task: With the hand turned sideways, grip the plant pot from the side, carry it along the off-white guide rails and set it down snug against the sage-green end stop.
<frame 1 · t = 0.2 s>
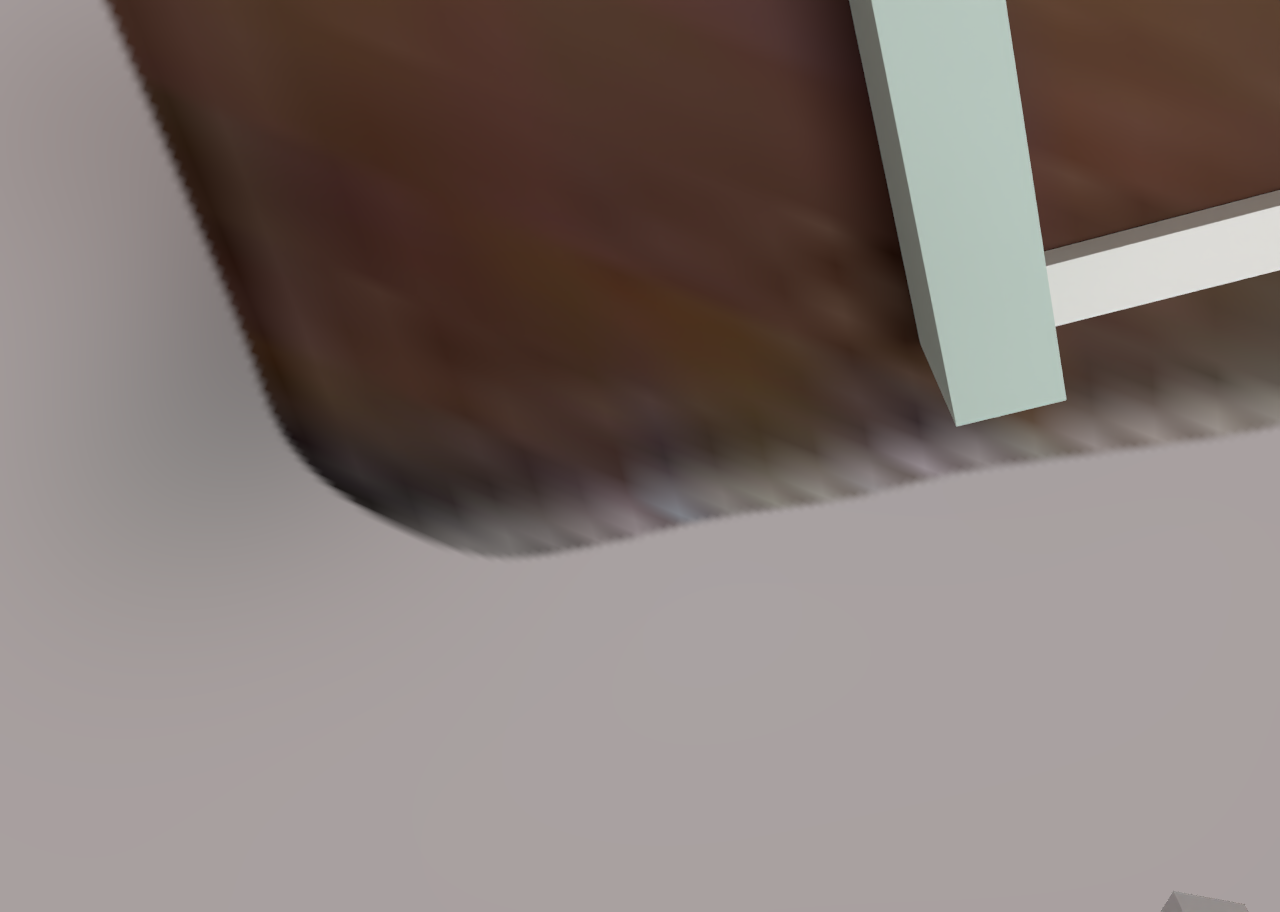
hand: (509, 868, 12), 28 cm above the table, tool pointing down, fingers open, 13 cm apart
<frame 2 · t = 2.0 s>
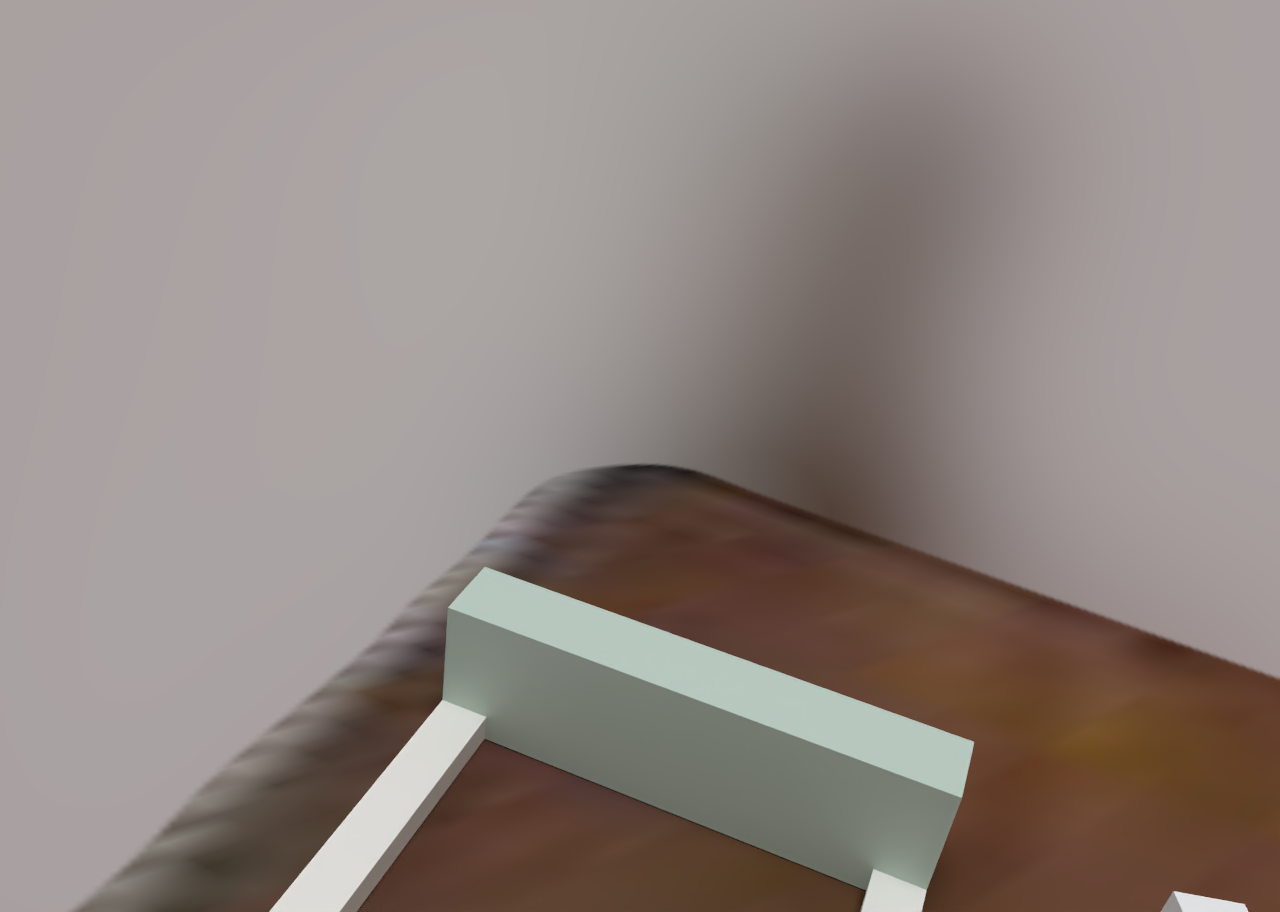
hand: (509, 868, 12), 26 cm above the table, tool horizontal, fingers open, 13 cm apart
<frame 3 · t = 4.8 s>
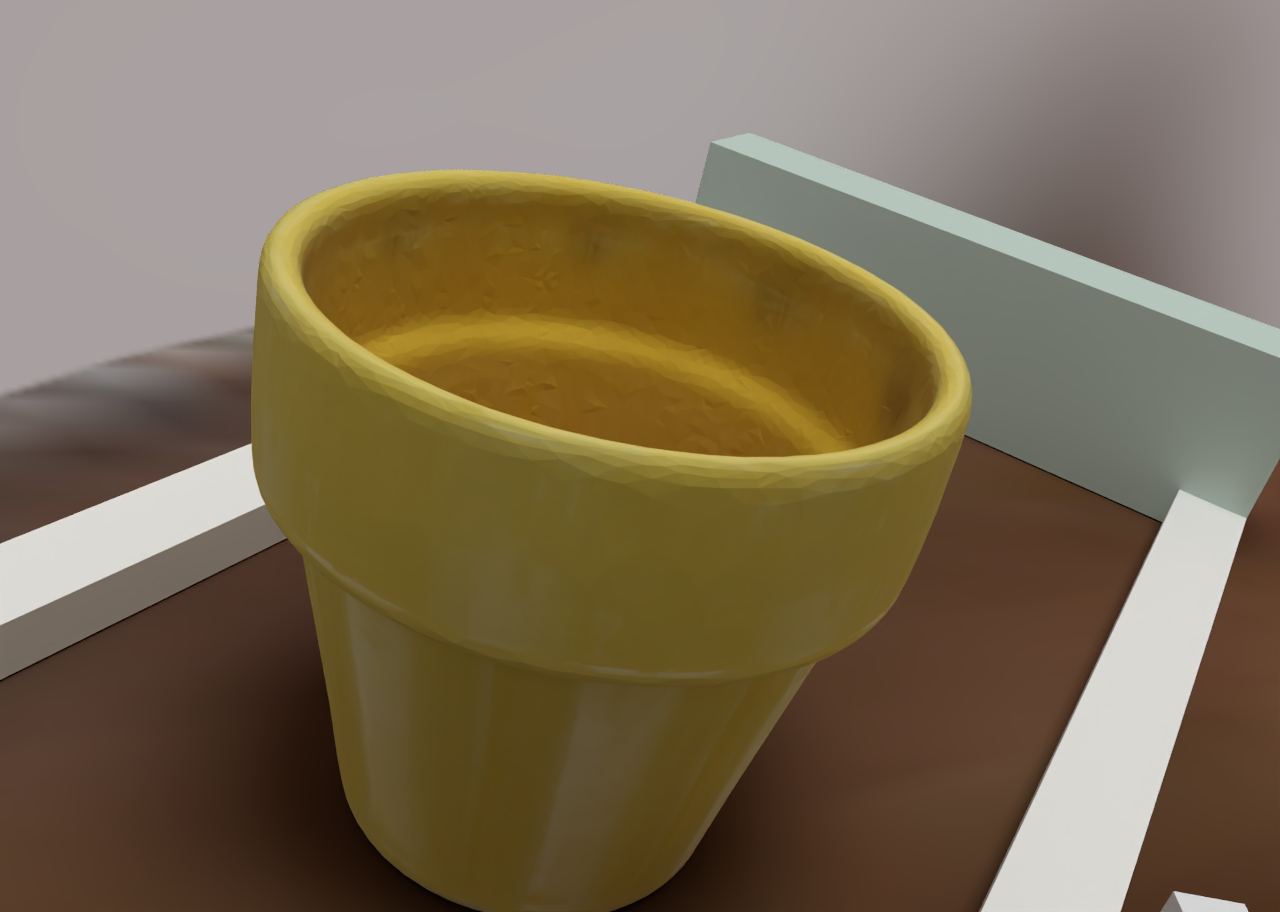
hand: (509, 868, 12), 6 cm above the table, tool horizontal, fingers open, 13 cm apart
guide track: (741, 577, 29), on the table
plant pot: (518, 781, 22), on the table
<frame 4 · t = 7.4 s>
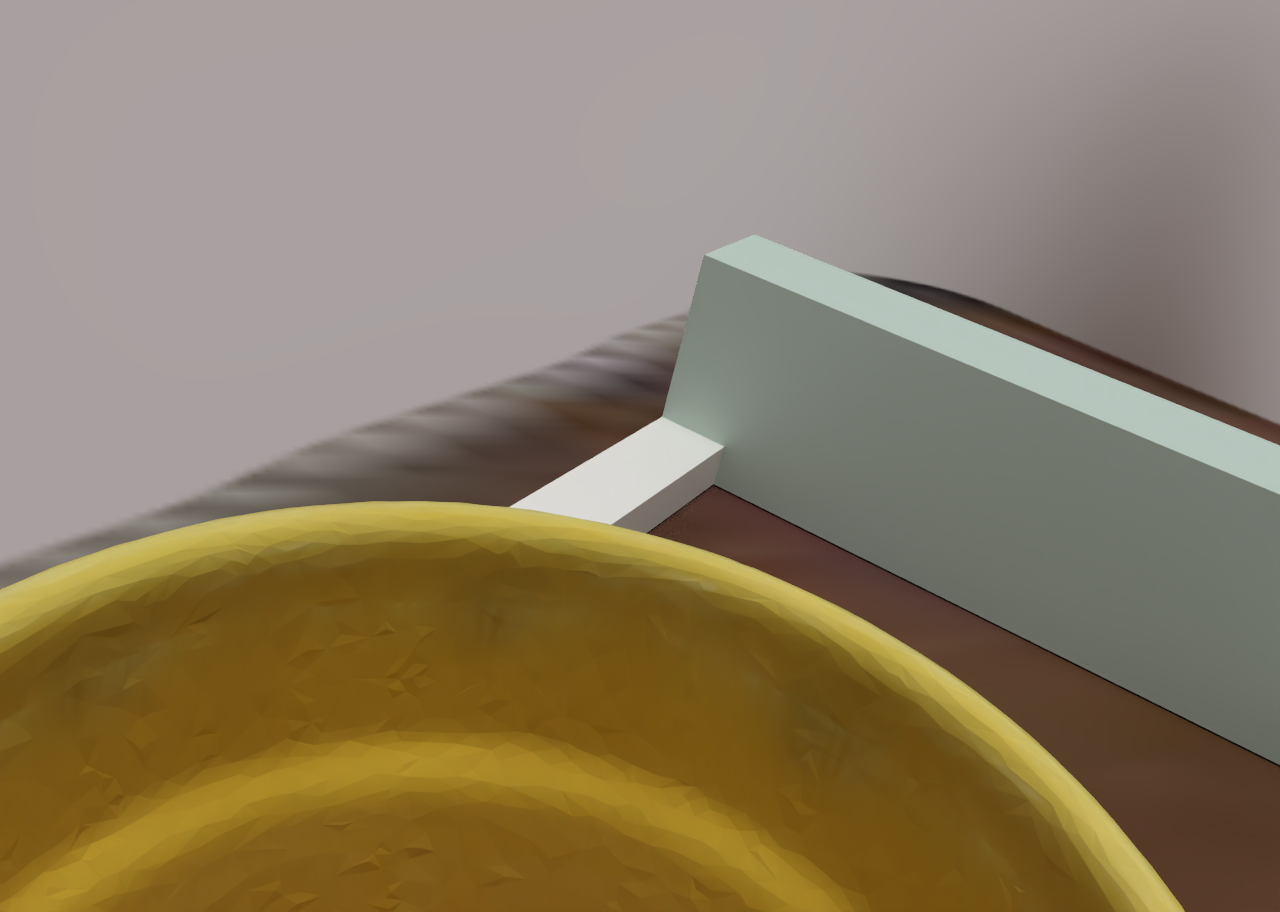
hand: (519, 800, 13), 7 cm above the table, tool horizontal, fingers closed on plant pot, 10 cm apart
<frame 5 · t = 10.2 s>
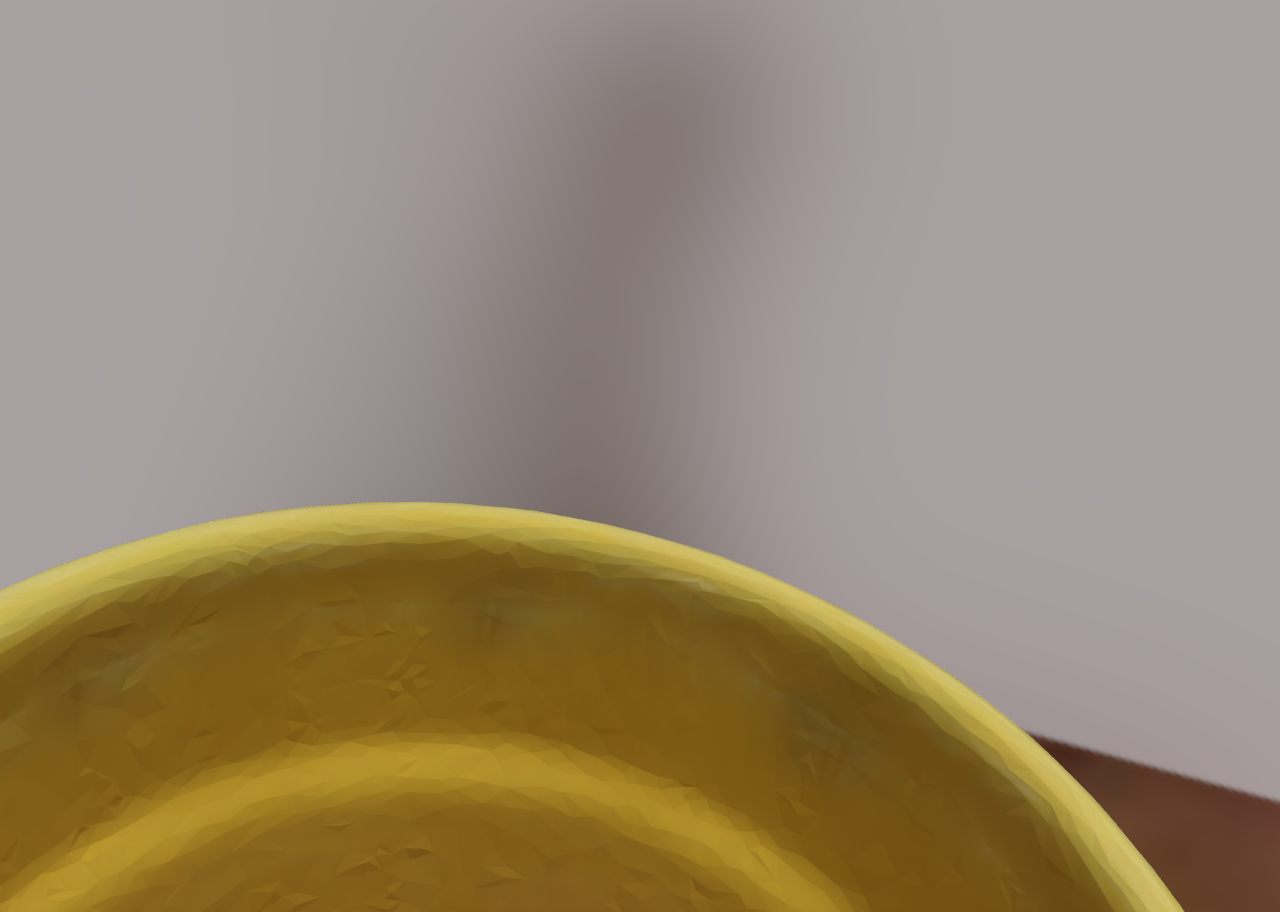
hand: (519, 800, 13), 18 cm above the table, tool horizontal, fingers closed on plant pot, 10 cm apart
when the fingers open (8 cm above the table, at t = 13.4 s): plant pot drops 1 cm, on the table.
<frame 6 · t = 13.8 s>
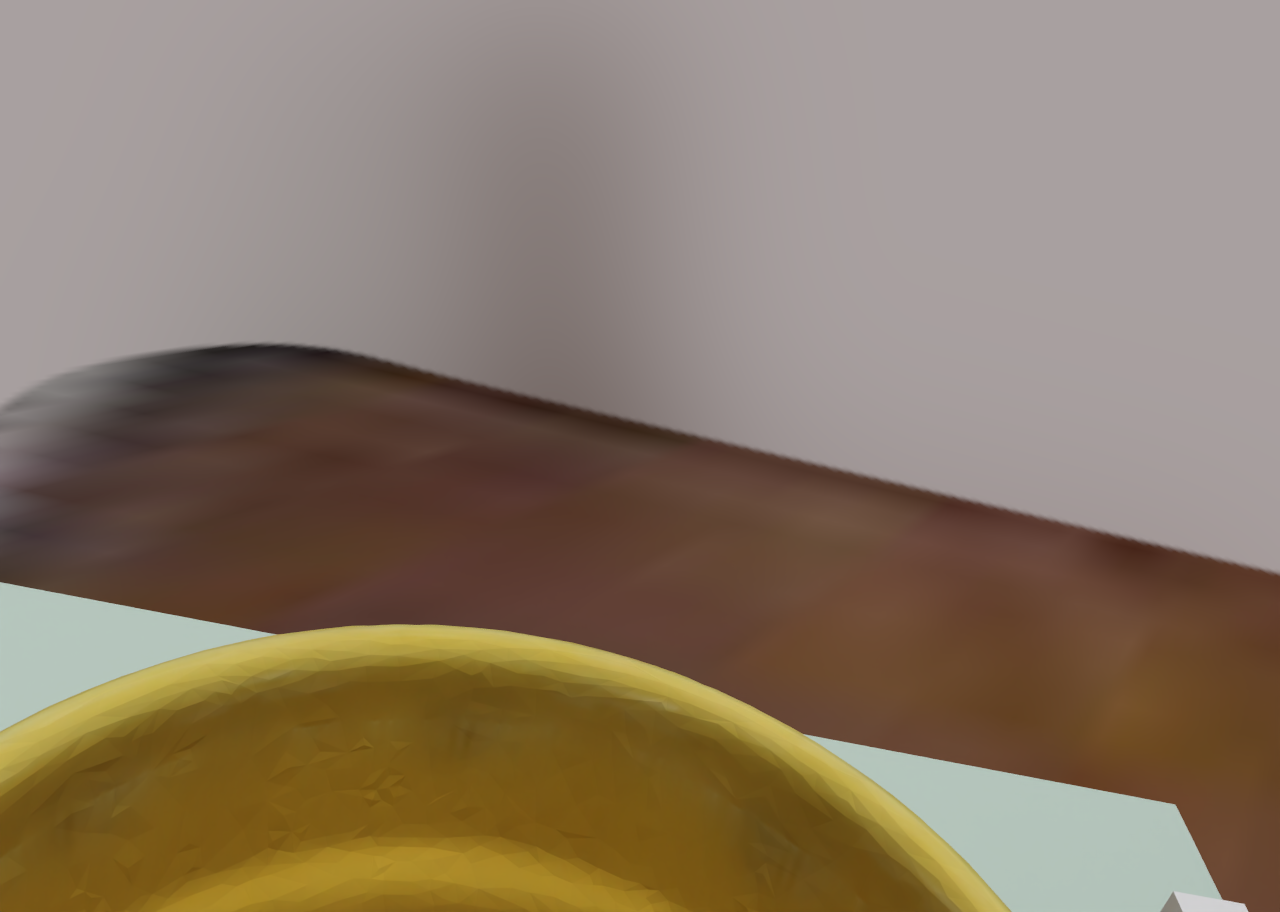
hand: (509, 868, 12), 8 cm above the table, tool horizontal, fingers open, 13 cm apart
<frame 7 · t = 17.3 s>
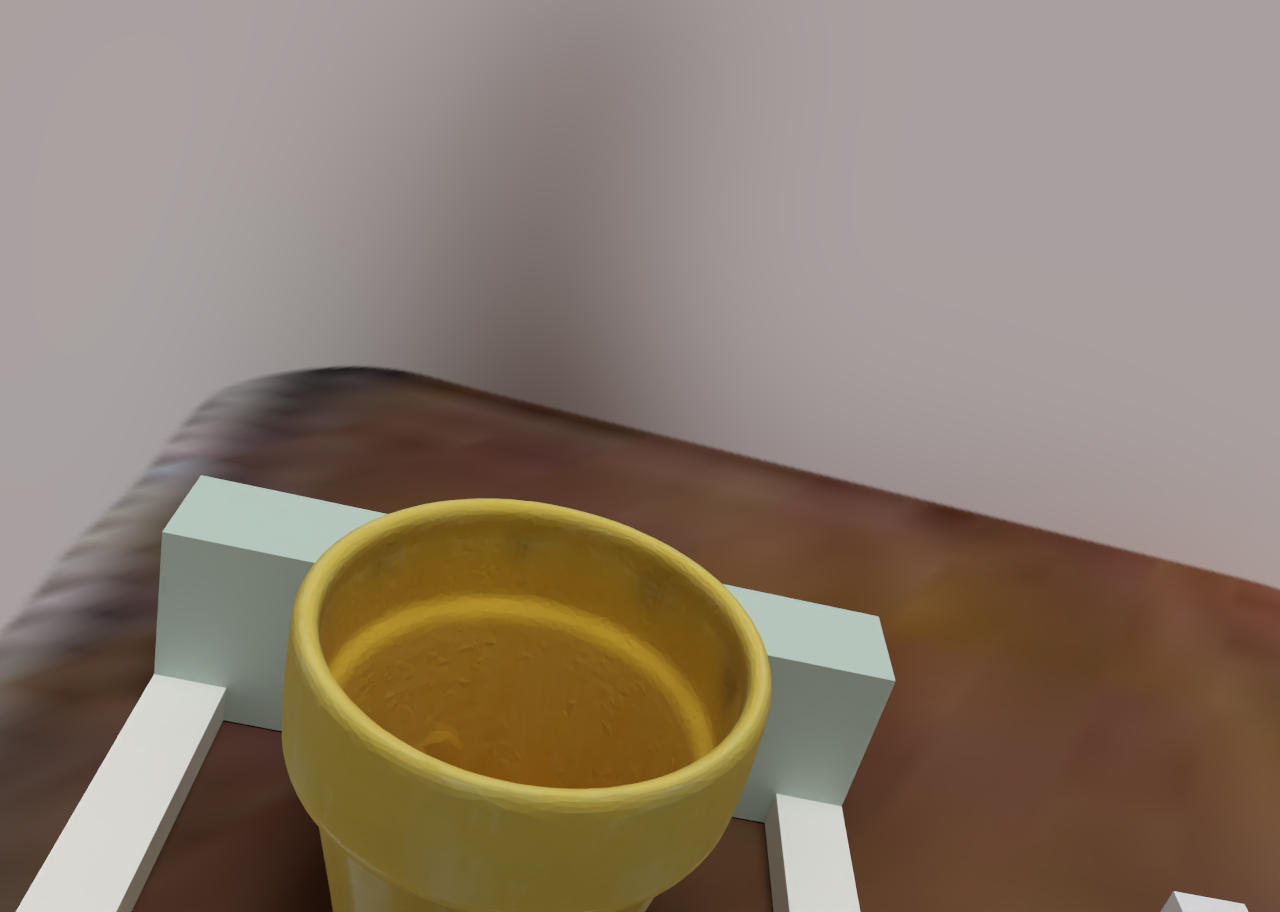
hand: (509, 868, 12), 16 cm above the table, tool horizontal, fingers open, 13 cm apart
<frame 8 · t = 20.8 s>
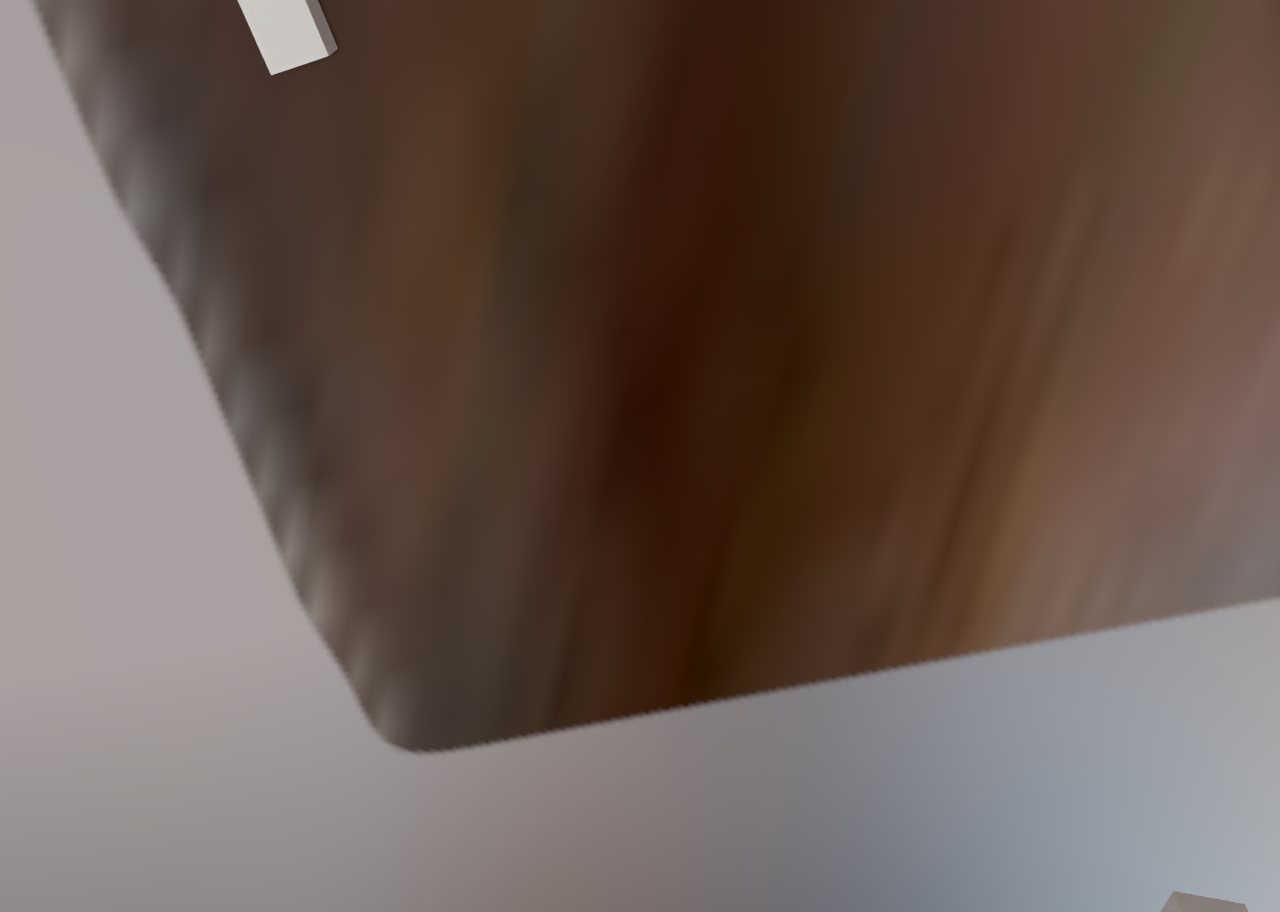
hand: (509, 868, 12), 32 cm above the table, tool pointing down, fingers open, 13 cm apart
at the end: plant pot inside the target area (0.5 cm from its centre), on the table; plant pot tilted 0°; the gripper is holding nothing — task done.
